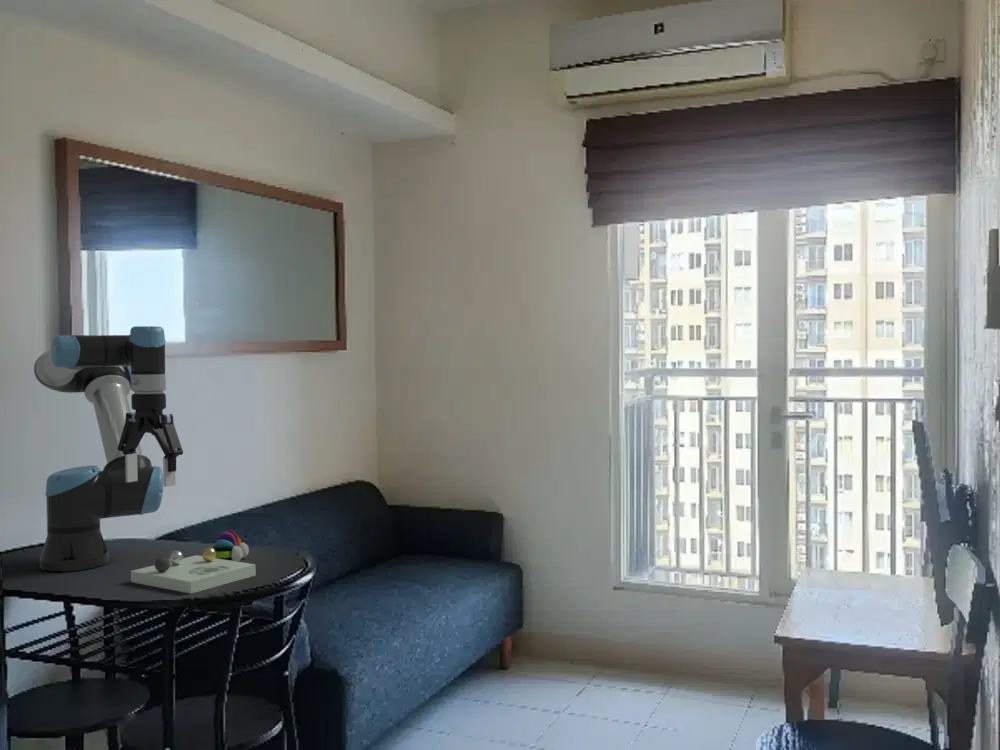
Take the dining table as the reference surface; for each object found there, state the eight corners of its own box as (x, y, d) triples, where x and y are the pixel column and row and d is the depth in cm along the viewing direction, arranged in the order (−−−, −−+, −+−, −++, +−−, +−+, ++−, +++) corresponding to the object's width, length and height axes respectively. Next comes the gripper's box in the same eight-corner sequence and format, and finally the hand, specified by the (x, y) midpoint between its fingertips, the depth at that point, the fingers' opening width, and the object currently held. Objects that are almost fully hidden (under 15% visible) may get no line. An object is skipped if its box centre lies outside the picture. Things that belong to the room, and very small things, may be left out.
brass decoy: (198, 561, 211) (198, 548, 211) (209, 559, 214) (209, 545, 214) (208, 563, 210) (207, 549, 209) (219, 560, 212) (219, 547, 212)
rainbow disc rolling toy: (252, 556, 229) (251, 527, 228) (237, 565, 219) (236, 535, 219) (219, 556, 229) (218, 527, 229) (203, 564, 220) (202, 534, 220)
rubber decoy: (151, 572, 202) (151, 558, 201) (164, 569, 204) (163, 555, 204) (161, 574, 200) (160, 559, 200) (173, 571, 203) (173, 556, 202)
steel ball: (165, 565, 208) (165, 551, 208) (177, 562, 211) (177, 548, 211) (175, 566, 207) (174, 552, 206) (186, 564, 209) (186, 550, 209)
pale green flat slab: (131, 582, 203) (130, 570, 203) (196, 565, 219) (196, 555, 218) (191, 593, 193) (190, 581, 193) (255, 575, 208) (255, 564, 208)
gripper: (100, 392, 216) (102, 481, 217) (171, 394, 203) (172, 490, 204) (128, 390, 222) (129, 477, 223) (198, 393, 209) (199, 485, 210)
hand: (150, 483), depth 213 cm, fingers open, 13 cm apart
